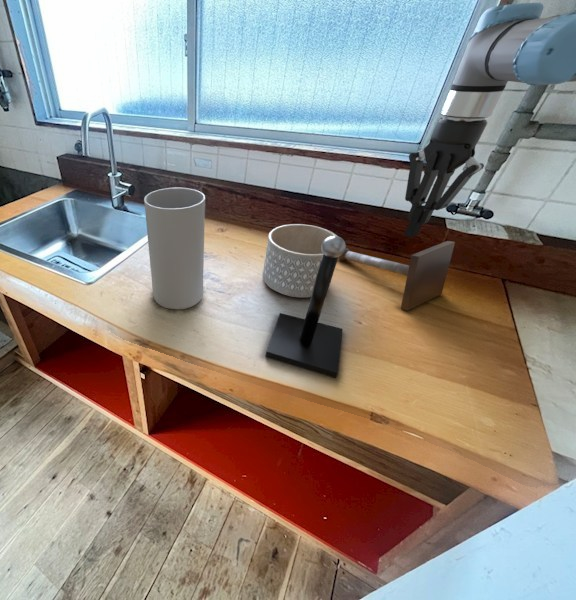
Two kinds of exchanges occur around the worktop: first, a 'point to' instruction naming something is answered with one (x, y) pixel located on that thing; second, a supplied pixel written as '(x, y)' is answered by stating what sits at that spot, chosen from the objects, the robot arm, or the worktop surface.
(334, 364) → the black holder
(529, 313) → the worktop surface
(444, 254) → the paper towel stand
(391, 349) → the worktop surface
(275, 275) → the planter
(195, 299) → the cylinder vase
